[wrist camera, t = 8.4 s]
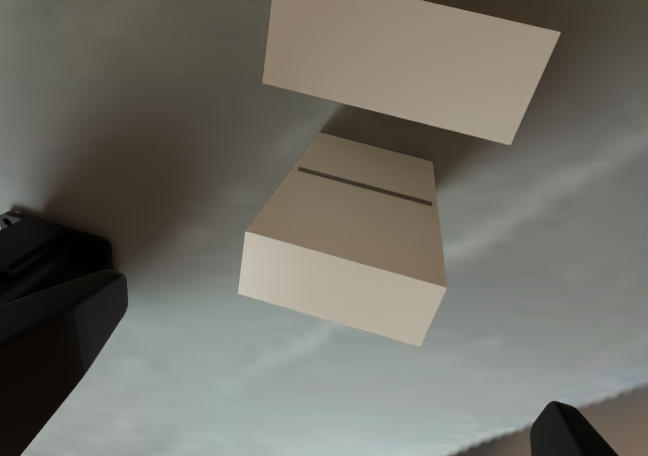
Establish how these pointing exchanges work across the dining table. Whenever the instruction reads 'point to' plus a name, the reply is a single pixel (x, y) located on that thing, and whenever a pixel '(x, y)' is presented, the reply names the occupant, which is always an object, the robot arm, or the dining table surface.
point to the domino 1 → (410, 61)
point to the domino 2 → (351, 240)
